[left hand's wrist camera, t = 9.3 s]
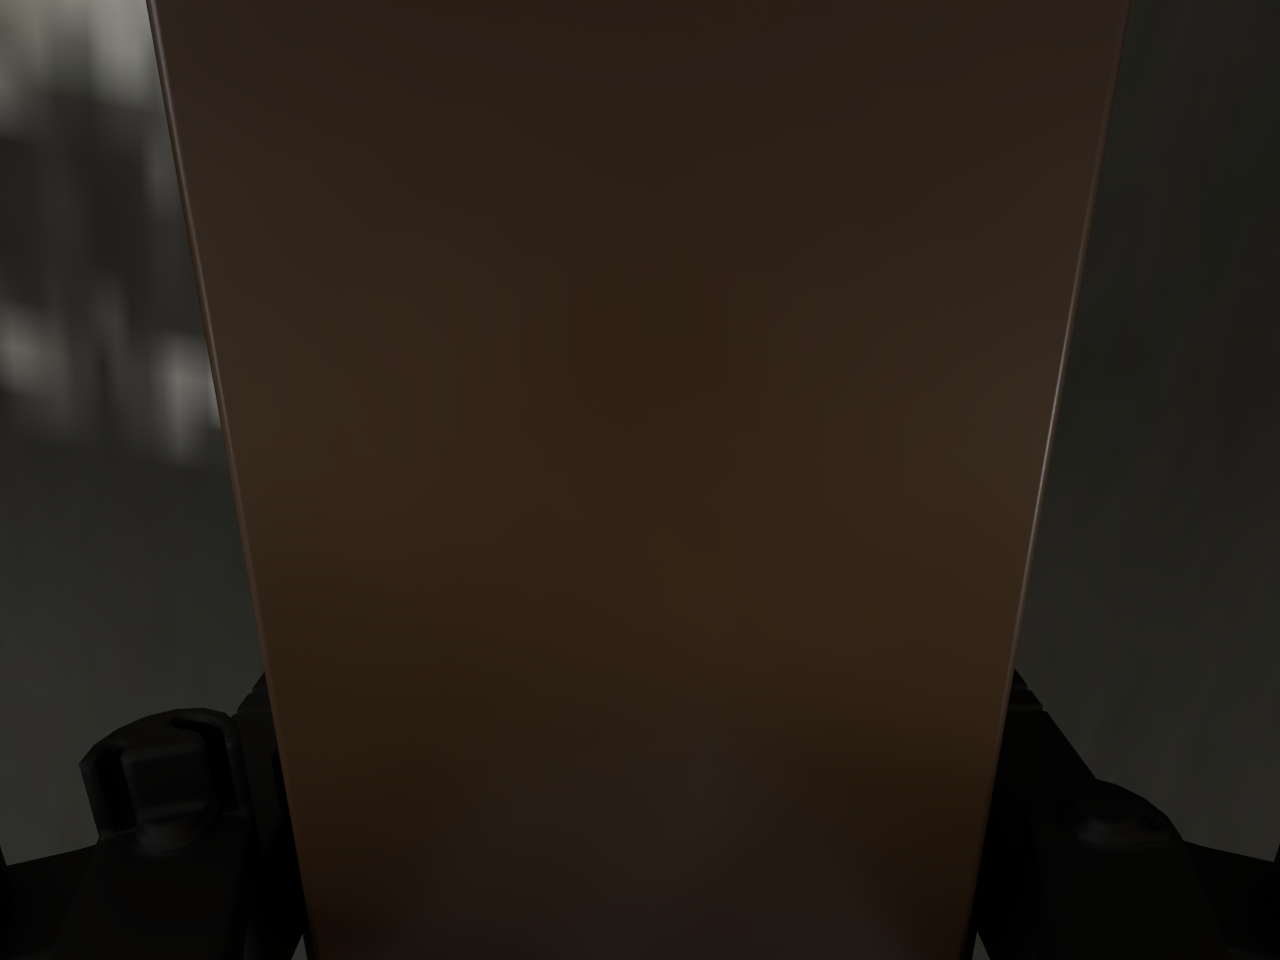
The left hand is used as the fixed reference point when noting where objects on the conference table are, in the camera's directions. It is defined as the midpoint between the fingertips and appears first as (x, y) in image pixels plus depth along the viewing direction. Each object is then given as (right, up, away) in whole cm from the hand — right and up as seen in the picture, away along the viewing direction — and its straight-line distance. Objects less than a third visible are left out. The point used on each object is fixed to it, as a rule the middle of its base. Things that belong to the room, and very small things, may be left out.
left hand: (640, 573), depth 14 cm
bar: (0, +8, -2) cm, 8 cm away
